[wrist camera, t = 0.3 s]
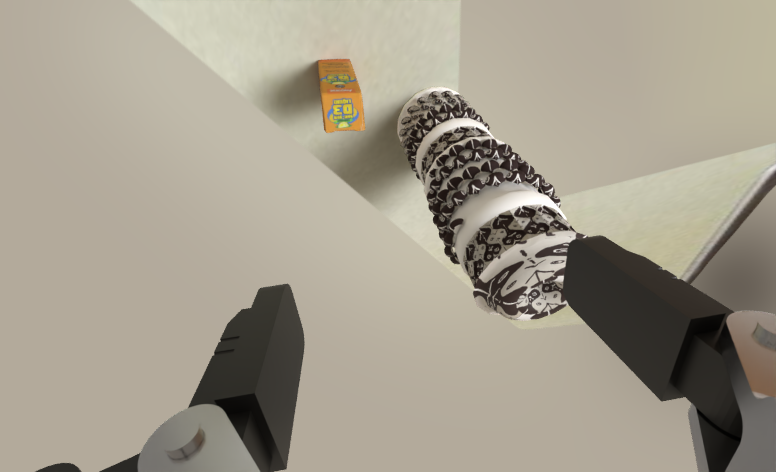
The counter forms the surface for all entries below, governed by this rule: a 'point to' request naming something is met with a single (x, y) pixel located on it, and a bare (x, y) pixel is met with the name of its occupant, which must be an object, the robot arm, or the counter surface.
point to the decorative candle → (487, 207)
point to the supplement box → (340, 96)
